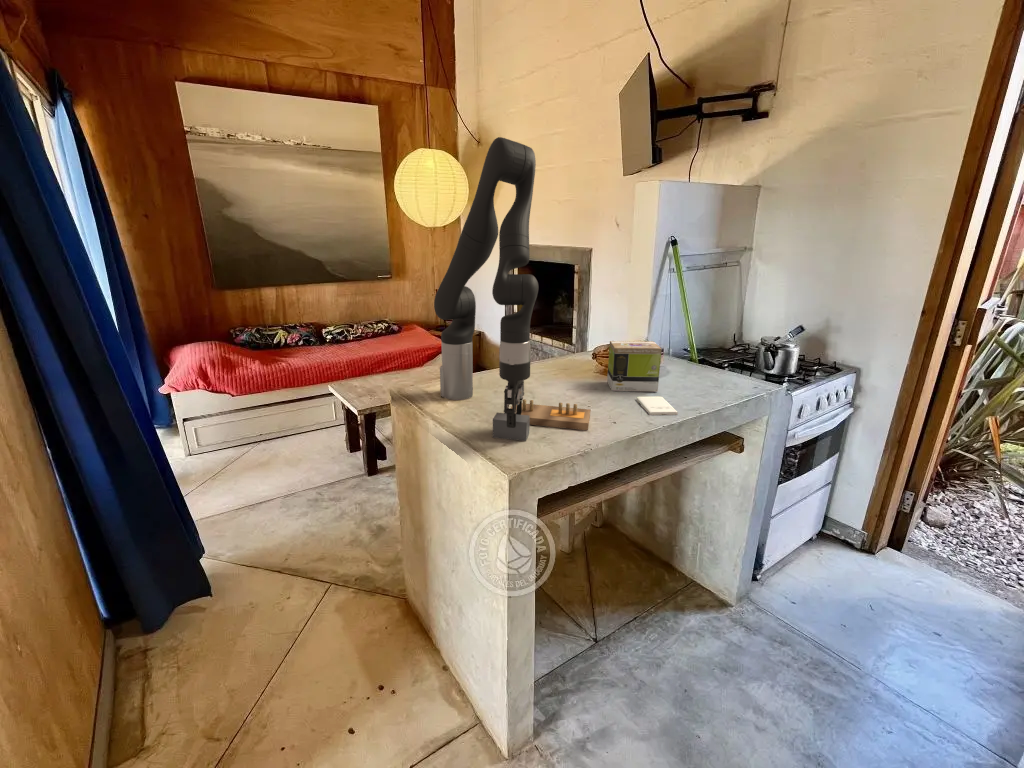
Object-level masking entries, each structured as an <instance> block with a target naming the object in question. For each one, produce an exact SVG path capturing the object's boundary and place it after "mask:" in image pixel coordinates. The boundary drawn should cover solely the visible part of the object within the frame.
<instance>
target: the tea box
mask: <svg viewBox="0 0 1024 768" xmlns="http://www.w3.org/2000/svg"><path fill="white" fill-rule="evenodd" d="M608 348H609V349H608V361H607V362H608V364H607V376H606V377H607V378H606V379H607V383H608V386H609V388H610V387H611V388H610V390H611V391H612V392H653V393H654V392H658V390H659V381H660V380H659V379H660V371H661V369H660V368H661V361H662V352H663V351H662V348H661V347H660V346H659V345H658V344H657V343H656V342H655V341H653V340H651V341H649V340H648V341H647V340H646V341H644V340H643V341H642V340H641V341H639V340H636V341H635V340H610V341H609V347H608Z"/></svg>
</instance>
